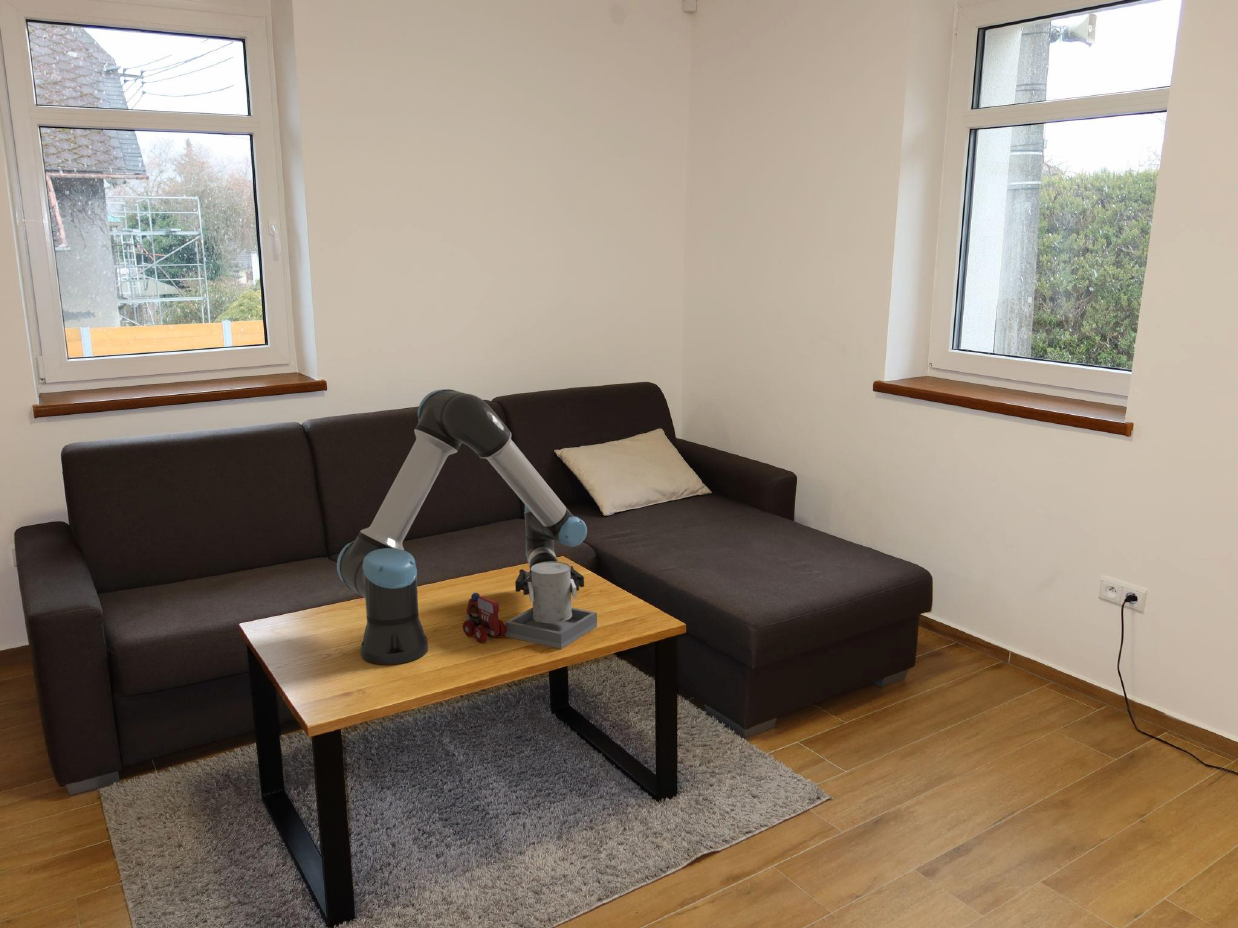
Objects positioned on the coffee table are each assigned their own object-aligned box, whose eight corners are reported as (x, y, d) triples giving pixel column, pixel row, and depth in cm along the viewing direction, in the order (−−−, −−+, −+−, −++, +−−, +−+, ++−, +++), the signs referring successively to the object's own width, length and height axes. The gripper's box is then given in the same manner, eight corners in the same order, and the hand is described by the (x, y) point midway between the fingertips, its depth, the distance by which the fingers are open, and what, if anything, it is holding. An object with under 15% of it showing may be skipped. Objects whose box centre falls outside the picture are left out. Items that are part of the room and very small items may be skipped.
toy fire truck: (482, 625, 241) (480, 585, 239) (510, 639, 232) (509, 598, 230) (458, 632, 237) (456, 591, 235) (485, 647, 228) (484, 605, 226)
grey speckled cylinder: (570, 622, 231) (569, 573, 228) (530, 623, 231) (528, 574, 229) (573, 608, 240) (571, 561, 238) (534, 608, 241) (533, 561, 238)
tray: (505, 636, 234) (505, 621, 233) (543, 615, 247) (542, 601, 247) (561, 649, 226) (561, 634, 225) (597, 626, 239) (596, 612, 239)
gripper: (586, 576, 254) (600, 605, 233) (501, 582, 251) (507, 613, 229) (586, 548, 253) (599, 576, 231) (500, 554, 249) (505, 582, 228)
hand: (553, 594), depth 230 cm, fingers closed on grey speckled cylinder, 9 cm apart
